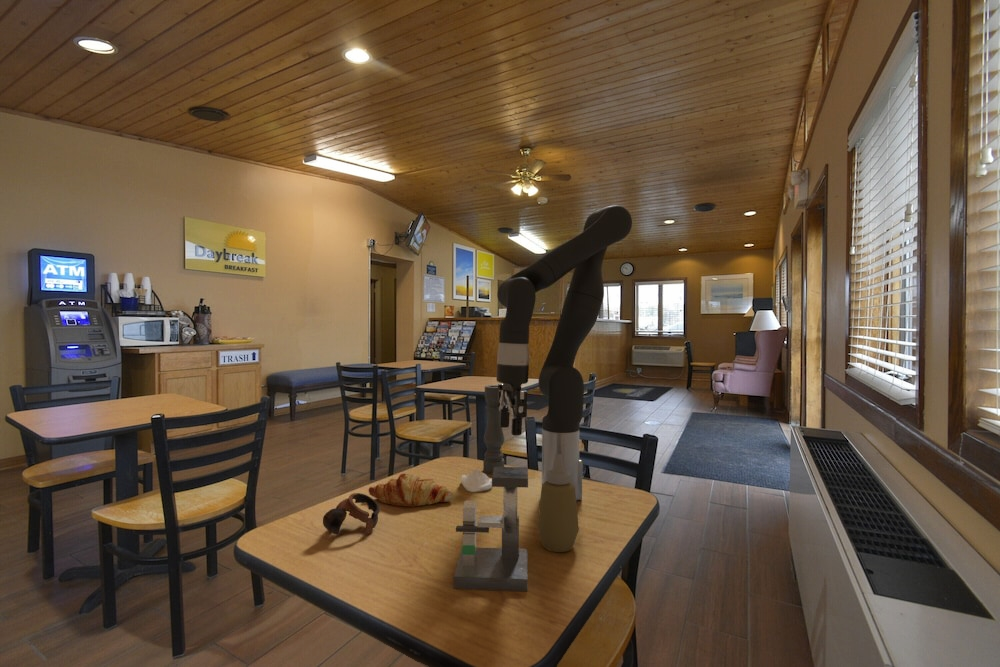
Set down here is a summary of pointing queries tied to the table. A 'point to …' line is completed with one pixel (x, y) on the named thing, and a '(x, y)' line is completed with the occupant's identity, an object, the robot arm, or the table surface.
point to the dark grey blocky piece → (506, 497)
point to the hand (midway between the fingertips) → (510, 431)
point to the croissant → (411, 491)
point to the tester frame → (490, 560)
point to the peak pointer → (472, 529)
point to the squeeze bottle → (558, 509)
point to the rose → (476, 481)
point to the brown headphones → (352, 513)
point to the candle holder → (493, 432)
